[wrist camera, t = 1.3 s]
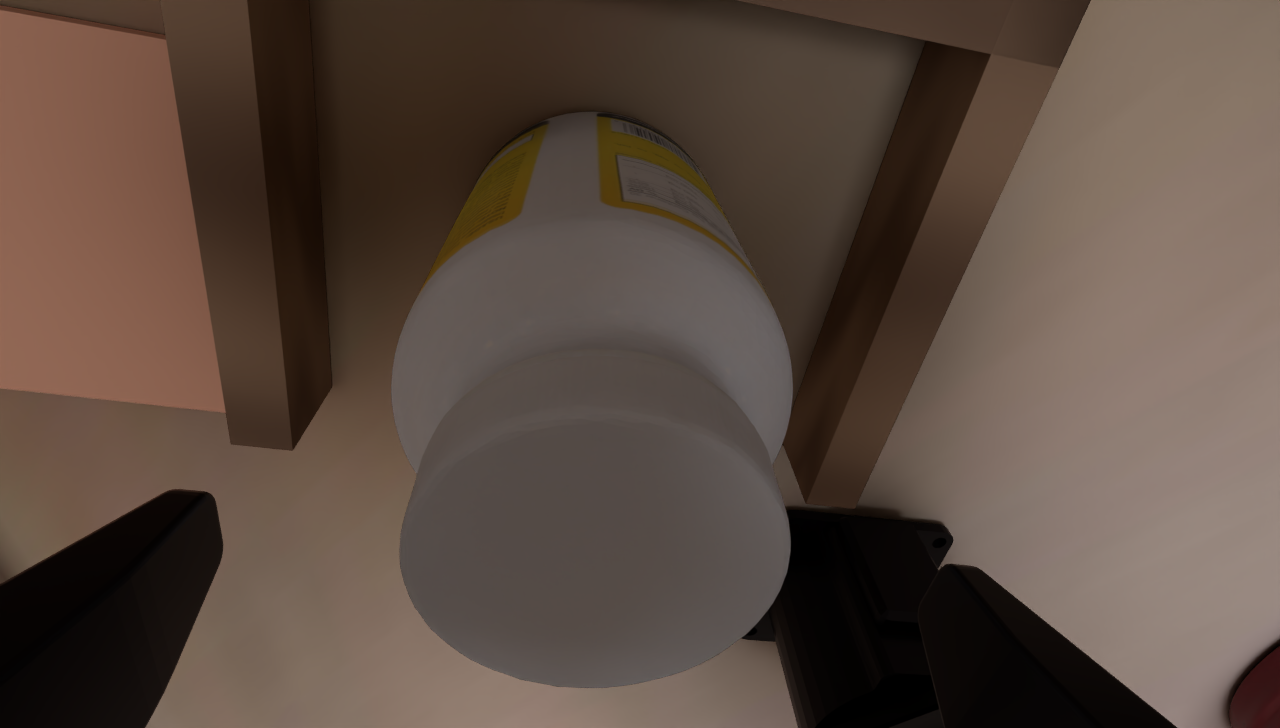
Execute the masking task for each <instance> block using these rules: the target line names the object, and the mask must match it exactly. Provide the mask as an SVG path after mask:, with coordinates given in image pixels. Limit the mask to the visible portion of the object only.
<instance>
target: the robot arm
mask: <svg viewBox="0 0 1280 728" xmlns="http://www.w3.org/2000/svg"><path fill="white" fill-rule="evenodd" d="M786 512H787V516H788V520H789V524H792V523H795V524H793V525H790V526H789V527H790V537H791V552H790V558H789V564H788V570H787V574H786V576H785V579H784V581H783V584H782V587H781V590H780V591H779V593H778V595H777V597H776V599H775V600H774V602H773V604H772V605H771V607H770V608H769V609H768V611H767V612H766V613H765V614H764V616H763V617H762V618H761V619H760V621H759V622H758V623H757V624H756V625H755V626H754V627H753V628H752V629H751V630H750V631H749V632H748V633H747V634H746V635H745V636H743V637H742V638H743V639H747V640H759V641H773V642H776V644H777V648H778V652H779V656H780V660H781V664H782V667H783V671H784V675H785V679H786V683H787V687H788V690H789V694H790V698H791V702H792V706H793V710H794V713H795V717H796V721H797V725H798V728H1177V727H1176V726H1175V725H1173V724H1172V723H1171V722H1170V721H1168V720H1167V719H1166V718H1165V717H1164V716H1162V715H1161V714H1160V713H1159V712H1157V711H1156V710H1155V709H1154V708H1152V707H1151V706H1150V705H1149V704H1147V703H1146V702H1145V701H1144V700H1142V699H1141V698H1140V697H1139V696H1137V695H1136V694H1135V693H1134V692H1132V691H1131V690H1130V689H1129V688H1127V687H1126V686H1125V685H1124V684H1122V683H1121V682H1120V681H1119V680H1117V679H1116V678H1115V677H1114V676H1113V675H1111V674H1110V673H1109V672H1108V671H1106V670H1105V669H1104V668H1103V667H1101V666H1100V665H1099V664H1098V663H1096V662H1095V661H1094V660H1093V659H1091V658H1090V657H1089V656H1088V655H1086V654H1085V653H1084V652H1083V651H1081V650H1080V649H1079V648H1078V647H1076V646H1075V645H1074V644H1073V643H1071V642H1070V641H1069V640H1068V639H1066V638H1065V637H1064V636H1063V635H1061V634H1060V633H1059V632H1058V631H1057V630H1055V629H1054V628H1053V627H1052V626H1050V625H1049V624H1048V623H1047V622H1045V621H1044V620H1043V619H1042V618H1040V617H1039V616H1038V615H1037V614H1035V613H1034V612H1033V611H1032V610H1030V609H1029V608H1028V607H1027V606H1025V605H1024V604H1023V603H1022V602H1020V601H1019V600H1018V599H1017V598H1015V597H1014V596H1013V595H1012V594H1010V593H1009V592H1008V591H1007V590H1006V589H1004V588H1003V587H1002V586H1001V585H999V584H998V583H997V582H996V581H994V580H993V579H992V578H991V577H989V576H988V575H987V574H986V573H984V572H983V571H982V570H980V569H979V568H977V567H974V566H968V565H958V564H946V565H944V566H943V567H941V568H940V570H938V568H939V566H940V564H941V562H942V561H943V559H944V557H945V556H946V554H947V552H948V550H949V549H950V547H951V545H952V543H953V537H952V535H951V533H950V532H949V530H948V529H947V528H946V527H945V526H943V525H939V524H929V523H919V522H909V521H899V520H890V519H880V518H870V517H860V516H850V515H840V514H831V513H821V512H811V511H801V510H787V511H786ZM222 554H223V539H222V533H221V528H220V522H219V516H218V511H217V505H216V501H215V498H214V497H213V496H212V495H211V494H210V493H208V492H204V491H193V490H183V489H172V490H169V491H166V492H164V493H162V494H160V495H159V496H157V497H155V498H153V499H151V500H150V501H148V502H146V503H144V504H142V505H141V506H139V507H137V508H135V509H134V510H132V511H130V512H128V513H126V514H125V515H123V516H121V517H119V518H117V519H116V520H114V521H112V522H110V523H109V524H107V525H105V526H103V527H101V528H100V529H98V530H96V531H94V532H92V533H91V534H89V535H87V536H85V537H84V538H82V539H80V540H78V541H76V542H75V543H73V544H71V545H69V546H67V547H66V548H64V549H62V550H60V551H59V552H57V553H55V554H53V555H51V556H50V557H48V558H46V559H44V560H42V561H41V562H39V563H37V564H35V565H34V566H32V567H30V568H28V569H26V570H25V571H23V572H21V573H19V574H17V575H16V576H14V577H12V578H10V579H8V580H7V581H5V582H3V583H1V584H0V728H145V727H146V725H147V724H148V722H149V720H150V718H151V716H152V715H153V713H154V711H155V709H156V707H157V705H158V703H159V701H160V699H161V698H162V696H163V694H164V692H165V689H166V687H167V685H168V683H169V681H170V679H171V676H172V674H173V672H174V670H175V667H176V665H177V663H178V660H179V658H180V656H181V653H182V651H183V649H184V646H185V644H186V642H187V639H188V637H189V635H190V632H191V630H192V628H193V625H194V623H195V621H196V618H197V616H198V614H199V611H200V609H201V607H202V604H203V602H204V600H205V597H206V595H207V593H208V590H209V588H210V586H211V583H212V581H213V579H214V576H215V574H216V572H217V569H218V567H219V564H220V562H221V558H222Z"/></svg>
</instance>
